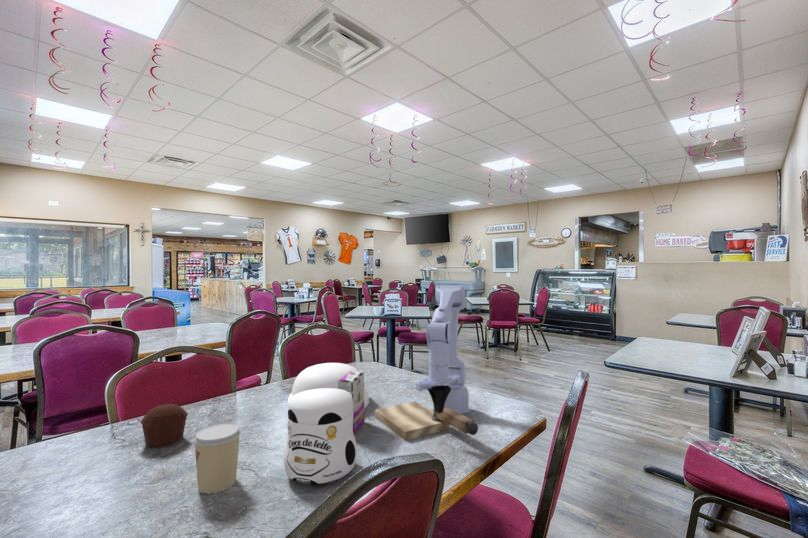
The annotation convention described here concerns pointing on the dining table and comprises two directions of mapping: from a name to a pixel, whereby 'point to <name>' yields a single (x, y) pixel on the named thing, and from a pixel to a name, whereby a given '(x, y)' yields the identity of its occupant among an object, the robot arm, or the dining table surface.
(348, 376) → the candy bar box
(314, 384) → the dome cover
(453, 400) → the robot arm
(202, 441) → the coffee cup
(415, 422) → the stool seat
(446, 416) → the stool leg
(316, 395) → the doce de leite jar
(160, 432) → the muffin
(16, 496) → the dining table surface
